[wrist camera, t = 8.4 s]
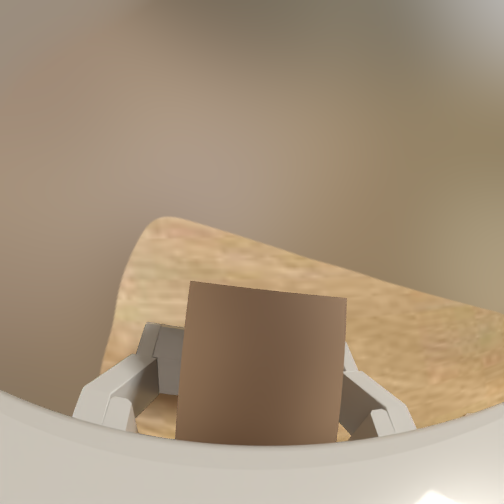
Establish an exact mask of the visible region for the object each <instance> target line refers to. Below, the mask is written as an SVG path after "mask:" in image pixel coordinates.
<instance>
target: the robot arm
mask: <svg viewBox="0 0 504 504" xmlns="http://www.w3.org/2000/svg"><path fill="white" fill-rule="evenodd" d="M184 329H185V328H183V327H176V326H170V325H165V324H157V323H152V322H147V323H146V325H145V328H144V331H143V334H142V337H141V340H140V343H139V346H138V349H137V353H136V354H131V355H129V356H128V357H127V358H125V359H124V360H122V361H121V362H119V363H118V364H116V365H115V366H113V367H112V368H111V369H109V370H108V371H106V372H105V373H103V374H102V375H100V376H99V377H97V378H96V379H95V380H93V381H92V382H90V383H89V384H87V385H86V386H84V387H83V389H82V392H81V394H80V397H79V399H78V402H77V405H76V408H75V410H74V413H73V416H72V417H71V416H68V415H64V414H61V413H58V412H55V411H52V410H50V409H47V408H44V407H41V406H38V405H36V404H33V403H31V402H28V401H26V400H23V399H21V398H18V397H15V396H14V395H11V394H9V393H7V392H5V391H2V390H0V504H504V402H502V403H500V404H497V405H495V406H492V407H489V408H487V409H484V410H481V411H478V412H475V413H467V414H466V415H465V416H463V417H460V418H457V419H453V420H450V421H447V422H443V423H439V424H436V425H432V426H428V427H424V428H420V429H416V426H415V424H414V422H413V420H412V417H411V415H410V413H409V411H408V409H407V407H406V405H405V404H404V403H403V402H401V401H400V400H399V399H397V398H396V397H395V396H393V395H392V394H391V393H389V392H388V391H387V390H386V389H384V388H383V387H382V386H380V385H379V384H378V383H377V382H375V381H374V380H373V379H371V378H370V377H369V376H367V375H366V374H365V373H364V372H362V371H358V369H357V366H356V364H355V362H354V359H353V357H352V355H351V352H350V350H349V348H348V345H347V343H346V342H345V355H344V370H343V384H342V395H341V405H340V415H339V422H340V424H341V425H342V426H343V427H344V428H345V429H346V430H347V431H348V432H349V433H350V435H351V437H350V438H349V439H348V441H344V442H335V443H324V444H310V445H288V446H249V445H226V444H212V443H201V442H191V441H183V440H175V439H168V438H162V437H155V436H150V435H144V434H139V433H138V430H137V425H136V421H135V418H136V417H137V416H138V415H139V414H140V413H141V412H142V411H143V410H144V409H145V408H146V407H147V406H148V405H149V404H150V403H151V402H152V401H153V400H154V399H155V398H156V397H157V396H158V395H159V393H164V394H172V395H178V391H179V379H180V368H181V358H182V348H183V338H184Z"/></svg>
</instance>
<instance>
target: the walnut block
mask: <svg viewBox="0 0 504 504" xmlns="http://www.w3.org/2000/svg"><path fill="white" fill-rule="evenodd" d="M346 302H347V298H339V297H328V296H318V295H308V294H298V293H288V292H279V291H269V290H260V289H252V288H243V287H235V286H227V285H219V284H211V283H203V282H195V281H190V288H189V296H188V304H187V312H186V320H185V329H184V338H183V348H182V358H181V368H180V379H179V391H178V404H177V419H176V435H175V440H183V441H191V442H201V443H212V444H226V445H249V446H288V445H310V444H324V443H335V442H336V440H337V432H338V424H339V415H340V405H341V395H342V384H343V370H344V355H345V335H346Z"/></svg>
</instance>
